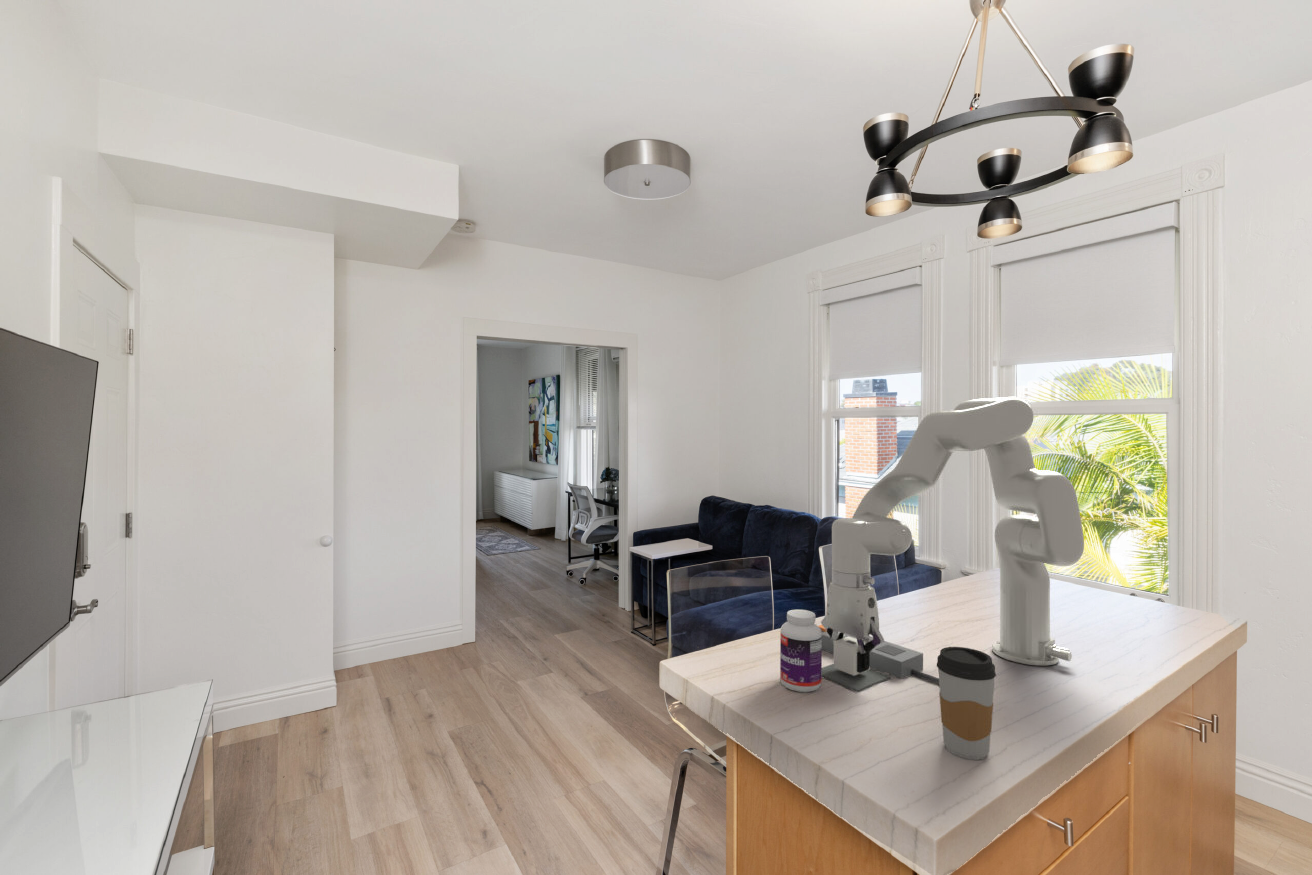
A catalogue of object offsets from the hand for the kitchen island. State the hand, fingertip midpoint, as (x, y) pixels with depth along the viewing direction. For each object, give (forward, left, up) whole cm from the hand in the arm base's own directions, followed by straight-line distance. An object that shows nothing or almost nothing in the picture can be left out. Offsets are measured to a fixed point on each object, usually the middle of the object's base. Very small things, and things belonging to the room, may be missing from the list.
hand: (851, 665), depth 119 cm
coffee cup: (-28, +9, -2) cm, 30 cm away
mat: (0, 0, -2) cm, 2 cm away
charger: (0, 0, -1) cm, 1 cm away
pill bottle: (+3, +12, -2) cm, 13 cm away
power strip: (-1, -11, -2) cm, 11 cm away
